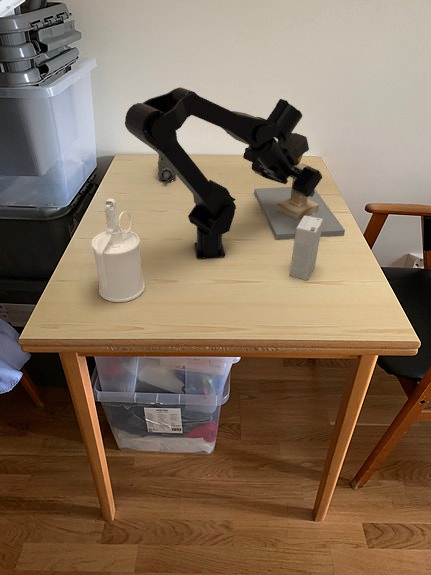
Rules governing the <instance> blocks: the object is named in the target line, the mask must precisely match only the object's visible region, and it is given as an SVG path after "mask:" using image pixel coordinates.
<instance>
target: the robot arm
mask: <svg viewBox="0 0 431 575" xmlns="http://www.w3.org/2000/svg"><path fill="white" fill-rule="evenodd" d="M191 116H193V117H195V118H197V119H200V120H203V121H205V122H206V123H209V124H212V125H214V126H217V127H219V128H221V129H222V130H224V132H225V133H226V134H227V135H229V136H230V137H232V138H233V139H234V140H235V141H238V142H241V143H243V144H245V145H247V147H245V148H244V153H243V156H242V158H243V159H244V160H246V161H248V162H250V163H251V170H252V171H253V172H254V173H255V174H257V175H259V177H262V178H265V179H268V180H270V181H274V182H276V183H280V184H283V185H286V184H287V183H288V182H289V180H288V178H292V179H293V178H294V179H296V180H295V181H294V183H293V190H294V191H296V193H298V194H300V195H302V196H305V197H308V196H310V197H313V195H314V194H315V191H314V189H315V190H316V187H317V186H318V184H319V183H320V182H321V180H322V179H323V174H322V173H321V171H320V170H319V169H316V168H314V167H312V166H311V167H309V166H310V165H308V166H307V167H304V168H303V170H300V169H298V168H295V167H294V166H297V165H298V163H299V160H298V158H299V157H301V156H302V155H304V154H305V153H307V152H308V151H309V150H310V147H309V143H308V137H307V136H305V135H303V134H300V133H297V132H293V131H294V130H295V128H296V127H297V126H298V124H299V122H301V120H302V118H303V113H302V112H301V111H300V110H299V109H297V108H296V107H295V106H293V105H292V104H291V103H289V102H288V100H286V99H284V98H283V99H282V98H279V100H278V101H277V102H276V105H275V106H274V108H273V110H272V111H271V112H270V114H269V116H268V117H267V119H266V118H263V117H262V116H254V115H251V114H248V113H246V112H242V111H241V112H240V111H236V110H234V111H233V110H230V109H229V108H226V107H223V106H221V105H219V104H217V103H215V102H214V101H211V100H208V99H207V98H205V97H202V96H200V95H198V93H196V92H195V91H194V90H193V91H192V90H190V89H188V88H185V87H181V86H180V87H177V88H174V89H172V90H170V91H169V92H167V93H164V94H161V95H158V96H154V97H151V98H148V99H147V100H145V101H144V102H137V103H134V104H132V105H131V106H130V107H129V108H128V110H127V111H126V114H125V120H124V126H125V128H126V130H127V132H128V133H130V134H131V135H132V136H134V137H135V138H136V139H137V140H139V141H140V142H142V143H143V144H145V145H146V146H147V147H149V148H150V149H152V150H153V151H155V152H156V153H157V154H158V156H159V155H160V156H161V158H162V159H163V160H164V161H165V162H166V163H167V165H168V166H169V167H170V168H171V169H172V170H173V172H174V173H175V174H176V177H178V178H179V180H180V181H181V182H182V184H184V185H185V187H186V188H187V189H188V190H189V191H190V192H191V194H192V195H193V202H194V204H195V205H194V207H193V208H192V209H191V211H190V212H189V213H188V215H187V218H188V221H189V223H190V224H191V225H194V226H195V227H196V242H194V243H193V244H194V251H195V255H196V256H195V257H196V259H212V258H213V259H214V258H225V257H226V252H225V249H224V245H223V235H224V234H226V233H229V232H230V230H231V226H232V223H233V221H234V218H235V213H236V209H237V206H236V203H235V201H236V200H237V199H236V198H234V197H232V195H231V194H230V192H229V191H230V190H229V189H228V188H226V187H225V186H222V185H221V184H219V183H217V182H215V181H213V180H211V179H209V180H208V178H207V176H205V174H204V173H203V172H202V171H201V169H200V168H199V167H198V166H197V164H196V163H195V161H193V159H192V157H190V156H189V154H188V153H187V152H186V150H185V149H184V148H183V147H182V146H181V144H180V143H179V141H178V135H177V134H178V133H177V131H178V130H180V129H181V128H182V126H183V125H184V124H185V122H186V120H188V118H189V117H191ZM302 157H303V156H302ZM299 164H300V163H299Z"/></svg>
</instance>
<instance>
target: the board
mask: <svg viewBox="0 0 431 575" xmlns="http://www.w3.org/2000/svg"><path fill="white" fill-rule="evenodd" d="M253 190H254V192H253V194H254V196H255V198H257V199H256V201H257V200H258V201H257V203H258V204H259V207H260V209H261V211H262V214H263V215H264V218H265V220H266V222H267V224H268V225H269V228H270V230H271V232H272V234H273V236H274V239H275V240H276V241H279V240H293V239H294V240H295V235H296V228H297V226H298V225H299V223H300V222H301V220H302V218H301V219H298V220H295V219H293V218H291V217H289V216H287V215H285V214H283V213H282V212H280V211H278V210H277V204H278V203H279V202H282V201H284V200H287V199H290V198H291V190H292V186H283V187H281V186H278V187H259V188H254V189H253ZM314 191H315V194H314V195H313V197H310V196H308V198H307V199H309V200H311V201H313V202H315V203H317V204H319V209H318V212H315V213H313V214H311V215H308V216H311V217H316V218H321V219H323V224H322V230H321V235H320V238H326V237H328V238H329V237H342V236H345V232H346V230H345V228H344V227H343V225H342V223H340V221H339V220H338V219H337V217H336V216H335V215H334V213H333V212H332V210H331V209H330V208H329V206H328V204H326V202H325V200H324V199H323V198H322V196H321V195H320V193H319V192H318V191H317V189H316V188H315V189H314Z"/></svg>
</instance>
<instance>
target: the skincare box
mask: <svg viewBox="0 0 431 575" xmlns="http://www.w3.org/2000/svg"><path fill="white" fill-rule="evenodd" d="M322 224H323V219H321V218H316V217H311V216H304V217H303V218H302V220H301V222H300V223H299V225H298V226H297V228H296V235H295V239H294V241H293V247H292V248H293V249H292V256H291V262H290V267H289V268H290V269H289V276H290V277H293V278H297V279H300V280H303V281H304V280H305V281H308V280H309V278H310V277H311V274H312V272H313V270H314V269H315V267H316V262H317V258H318V257H317V256H318V253H319V245H320V240H321V237H320V235H321V230H322Z"/></svg>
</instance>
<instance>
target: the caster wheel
mask: <svg viewBox="0 0 431 575" xmlns="http://www.w3.org/2000/svg"><path fill="white" fill-rule="evenodd" d="M157 160H158V161H157V165H158V166H157V168H158V174H157V175H158V178H159V181H161V180H166V182H169V181H168V180H171V181H170V182H174V181H176V179H177V175H176V174H175V173H174V172H173V170H172V169H171V168H170V167H169V166H168V165H167V163H166V162H165V161H164V160H163V159H162V158H161V156H160V155H159V154H158V159H157ZM172 180H173V181H172Z"/></svg>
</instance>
